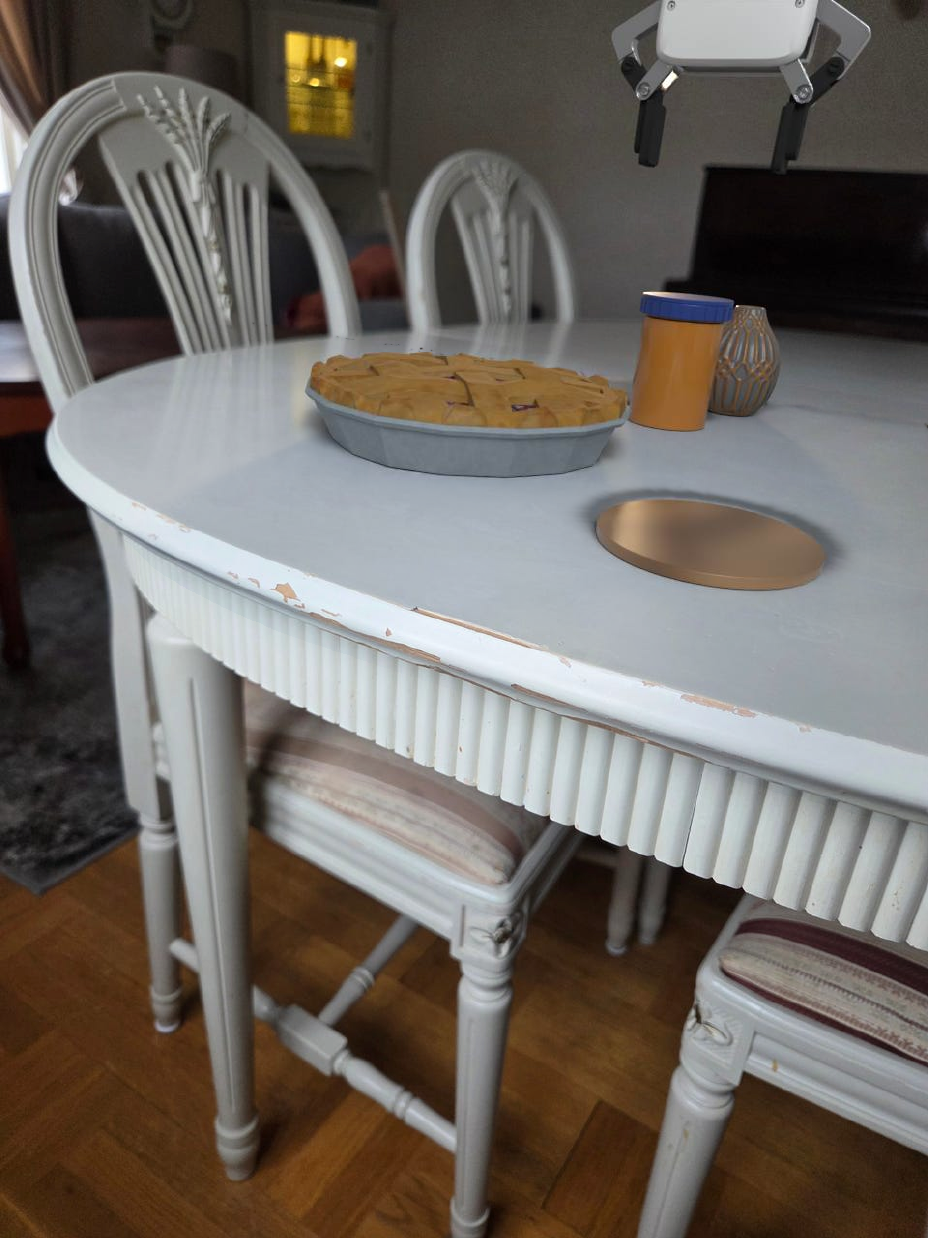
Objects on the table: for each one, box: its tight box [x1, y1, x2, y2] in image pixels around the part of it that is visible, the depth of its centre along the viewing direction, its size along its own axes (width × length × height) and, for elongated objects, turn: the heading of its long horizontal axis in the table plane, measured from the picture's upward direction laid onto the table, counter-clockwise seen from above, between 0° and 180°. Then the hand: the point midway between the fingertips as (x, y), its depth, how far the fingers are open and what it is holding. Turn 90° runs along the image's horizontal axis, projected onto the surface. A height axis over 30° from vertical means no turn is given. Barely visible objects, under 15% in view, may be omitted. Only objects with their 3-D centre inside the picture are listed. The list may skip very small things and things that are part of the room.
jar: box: [627, 314, 725, 432], centre depth 66 cm, size 6×6×9 cm
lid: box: [639, 291, 735, 322], centre depth 64 cm, size 7×7×1 cm
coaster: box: [595, 498, 826, 591], centre depth 41 cm, size 11×11×1 cm
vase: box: [708, 304, 781, 417], centre depth 72 cm, size 7×7×9 cm
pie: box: [304, 351, 631, 478], centre depth 56 cm, size 22×22×5 cm
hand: (711, 168), depth 60 cm, fingers open, 9 cm apart
